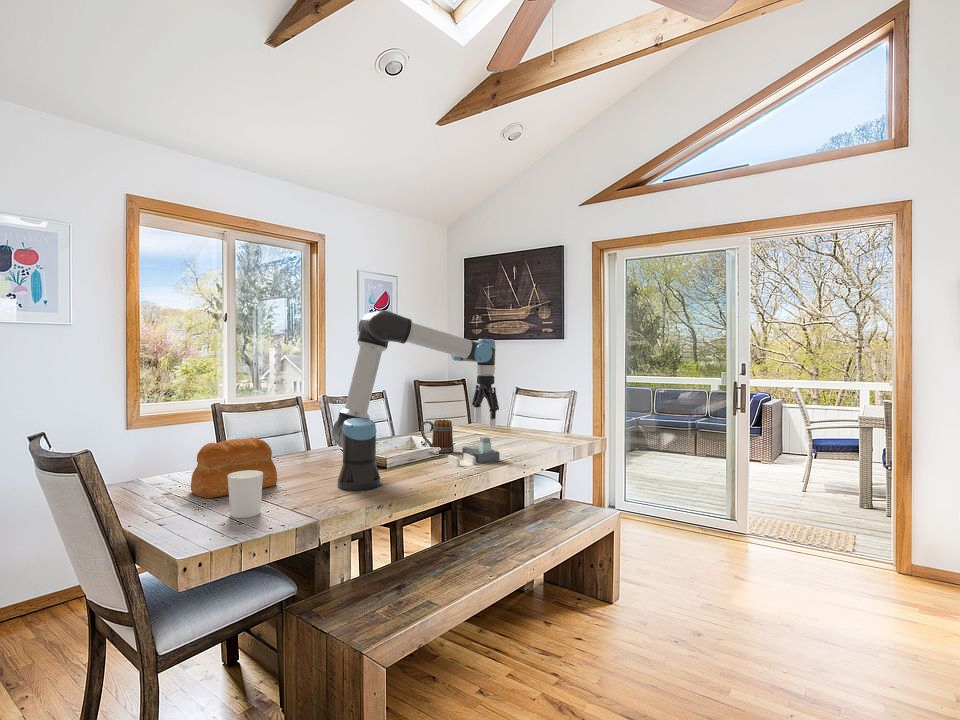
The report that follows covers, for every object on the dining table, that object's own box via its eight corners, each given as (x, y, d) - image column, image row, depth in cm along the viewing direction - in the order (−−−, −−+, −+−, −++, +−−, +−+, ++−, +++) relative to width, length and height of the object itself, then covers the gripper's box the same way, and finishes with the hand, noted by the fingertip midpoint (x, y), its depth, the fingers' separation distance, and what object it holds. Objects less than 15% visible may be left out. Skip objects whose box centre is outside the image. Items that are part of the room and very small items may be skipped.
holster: (456, 468, 223) (456, 459, 223) (447, 464, 231) (447, 454, 231) (475, 466, 227) (476, 457, 227) (466, 462, 235) (466, 453, 235)
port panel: (478, 466, 229) (478, 453, 228) (462, 458, 243) (462, 446, 243) (499, 463, 233) (499, 451, 233) (482, 456, 247) (482, 444, 247)
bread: (186, 492, 185) (186, 441, 185) (260, 478, 205) (260, 432, 204) (206, 501, 175) (205, 448, 174) (281, 485, 195) (281, 437, 194)
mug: (455, 450, 260) (455, 419, 260) (451, 455, 250) (452, 422, 249) (423, 449, 262) (423, 418, 261) (418, 454, 251) (418, 421, 251)
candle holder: (268, 508, 168) (268, 470, 167) (255, 519, 158) (255, 478, 157) (235, 508, 167) (235, 470, 167) (221, 519, 157) (221, 478, 157)
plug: (482, 464, 232) (483, 438, 231) (478, 462, 235) (478, 437, 235) (491, 463, 234) (491, 438, 233) (486, 461, 237) (487, 436, 237)
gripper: (508, 376, 224) (506, 428, 224) (480, 373, 246) (479, 420, 246) (492, 376, 220) (490, 429, 221) (465, 373, 242) (464, 420, 243)
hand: (484, 424), depth 234 cm, fingers open, 13 cm apart
